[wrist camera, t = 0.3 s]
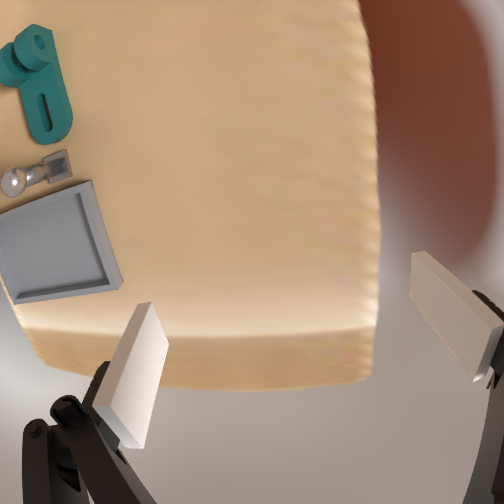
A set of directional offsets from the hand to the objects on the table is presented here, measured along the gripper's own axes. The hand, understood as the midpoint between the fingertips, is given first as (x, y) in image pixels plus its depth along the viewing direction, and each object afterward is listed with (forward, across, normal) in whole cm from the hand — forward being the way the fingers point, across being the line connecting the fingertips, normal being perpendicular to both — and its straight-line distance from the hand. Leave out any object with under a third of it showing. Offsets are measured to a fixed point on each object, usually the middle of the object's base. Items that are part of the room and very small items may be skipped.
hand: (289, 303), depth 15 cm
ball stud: (+27, -27, +10) cm, 40 cm away
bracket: (+28, -27, +22) cm, 45 cm away
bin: (+27, -34, -2) cm, 44 cm away
